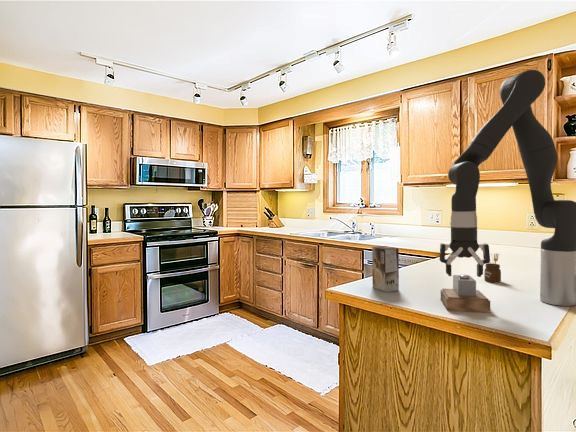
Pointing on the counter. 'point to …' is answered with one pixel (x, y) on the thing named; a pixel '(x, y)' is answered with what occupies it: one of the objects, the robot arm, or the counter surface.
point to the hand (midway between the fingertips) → (464, 276)
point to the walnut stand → (465, 302)
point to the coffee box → (385, 268)
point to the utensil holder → (492, 271)
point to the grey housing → (464, 285)
